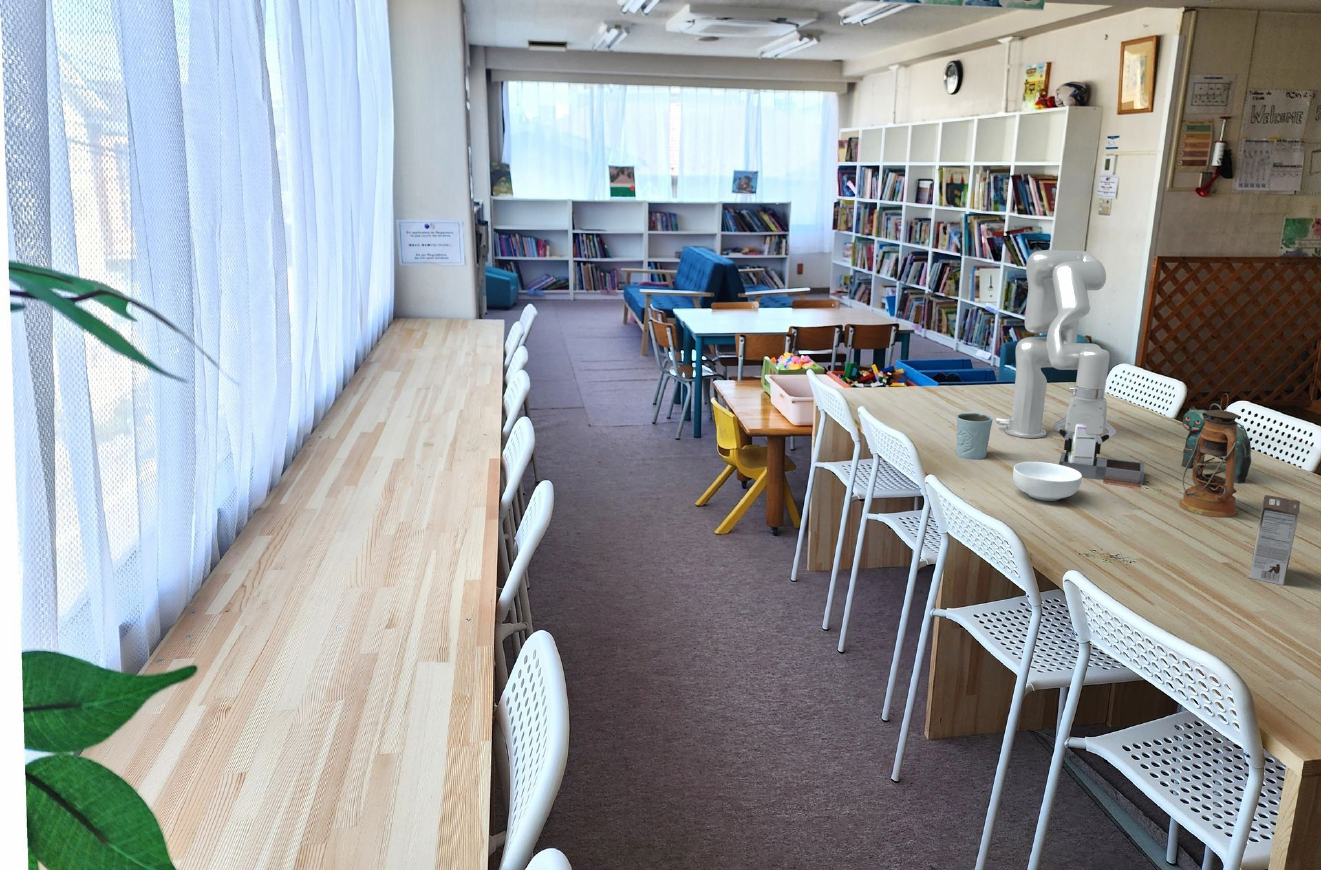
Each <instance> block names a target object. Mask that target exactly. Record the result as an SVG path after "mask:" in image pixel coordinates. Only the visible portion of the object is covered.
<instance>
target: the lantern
mask: <svg viewBox="0 0 1321 870" xmlns="http://www.w3.org/2000/svg"><path fill="white" fill-rule="evenodd" d="M1225 395H1226V397H1227V398H1229V394H1228V393H1223V395H1222V397H1221V401H1220V405H1219V406H1220V408H1219V409H1210V411H1209V410H1206V412H1205V413H1206V414H1207V415H1208V419H1206V420H1205V425H1204V427H1203V429H1202V431H1201V433H1200V435H1199V437H1198V440H1197V442H1196V446H1195V449H1194V451H1193V454H1192V456H1191V458H1190V460H1189V462H1188V464H1187V466H1186V467H1185V469H1184V471H1183V475H1182V488H1183V491H1184V492H1183V498H1182V499H1180V501H1179V503H1178V506H1179V507H1180V508H1181V509H1183V510H1185V511H1186V512H1190V513H1193V514H1196V515H1200V516H1206V517H1213V518H1215V517H1216V518H1231V517H1235V516H1236V515H1238V511H1237V508H1236V507H1235V505H1236V497H1235V496H1234V495H1233V494H1236V493H1237V491H1238V490H1237V489H1236V488H1234V486H1235V482H1234V475H1235V466H1236V464H1235V458H1236V442H1237V441H1238V439H1237V438H1236V434H1237V429H1236V428H1237V426H1238V424H1237V422H1238V421H1236V419H1239V418H1240V415H1238V414H1237V413H1235V412H1231V411H1227V409H1228V405H1229V400H1226V401H1227V402H1226V406H1225V410H1223V409H1222V404H1223V399H1224V396H1225ZM1235 421H1236V422H1235ZM1197 446H1198V451H1197V455H1196V456H1195V458H1194V459H1193V464H1194V465H1193V466H1194V467H1193V468H1191V469H1192V474H1191V476H1192V481H1193V484H1194V486H1191V487H1188V488H1185V476H1186V473H1187V470H1188V469H1189V468H1188V466H1189V464H1190V462H1191V460H1192V458H1193V457H1194V454H1195V451H1196V449H1197ZM1206 455H1208V456H1212V457H1211V458H1210V459H1208V460H1205V457H1206ZM1216 458H1218V459H1219V460H1221V461H1219V460H1218V461H1215V459H1216ZM1212 460H1214V461H1212ZM1194 461H1195V462H1194ZM1216 464H1218V465H1217V467H1216V468H1215V470H1214V472H1210V473H1204V469H1205V470H1206V469H1207V465H1216ZM1222 464H1225V469H1224V470H1220V471H1218V469H1219V467H1220V466H1221V465H1222ZM1224 472H1225V478H1224V477H1221V476H1218V474H1221V473H1224Z"/></svg>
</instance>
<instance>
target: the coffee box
mask: <svg viewBox="0 0 1321 870" xmlns="http://www.w3.org/2000/svg"><path fill="white" fill-rule="evenodd" d="M1300 505H1301V504H1300V500H1295V499H1290V498H1285V497H1281V496H1275V495H1274V496H1273V495H1269V494H1265V495H1264V499H1263V503H1262V507H1261V512H1260V517H1259V522H1258V525H1257V527H1258V528H1257V532H1256V537H1255V543H1254V548H1253V553H1252V554H1253V555H1252V559H1251V561H1252V562H1251V568H1250V574H1249V578H1250V579H1252V580H1258V581H1260V582H1261V581H1262V582H1267V583H1271V584H1276V585H1281V586H1284V585H1285V582H1286V577H1287V573H1288V568H1289V564H1290V559H1291V553H1292V549H1293V543H1294V540H1295V535H1296V530H1297V525H1298V521H1299V515H1300Z"/></svg>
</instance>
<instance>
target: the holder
mask: <svg viewBox="0 0 1321 870" xmlns="http://www.w3.org/2000/svg"><path fill="white" fill-rule="evenodd" d="M1068 456H1069V454H1066V452H1061V455H1060V459H1059V463H1058V465H1062V466H1066V467H1069V468H1072V469H1075V470H1077V471H1078V472H1080V473H1081V475H1082V478H1083V479H1084V478H1087V479H1094V480H1099V479H1102V480H1101V481H1103V482H1102V484H1104V483H1107V484H1106V485H1111V484H1112V486H1113V485H1114V486H1121V487H1128V488H1135V489H1140V488H1141V486H1144V478H1145V472H1146V471H1145V462H1140V461H1131V460H1125V459H1117V458H1109V457H1100V456H1097V457H1094V461H1093V465H1086V464H1078V463H1070V462H1068Z"/></svg>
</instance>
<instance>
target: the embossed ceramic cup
mask: <svg viewBox="0 0 1321 870" xmlns="http://www.w3.org/2000/svg"><path fill="white" fill-rule="evenodd" d="M992 425H993V417H992V416H991V415H989V414H988V415H987V414H985V413H978V412H964V413H959V414H957V415H956V448H955V449H956V450H955V451H956V452H955V453H956V456H957V457H960V458H962V459H966V460H983V459H986V457H987V455H988V454H987V453H988V448H989V441H990V434H991V430H992Z"/></svg>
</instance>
